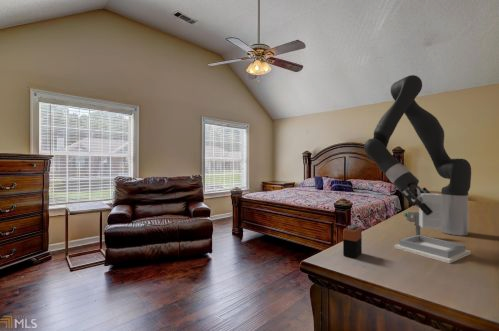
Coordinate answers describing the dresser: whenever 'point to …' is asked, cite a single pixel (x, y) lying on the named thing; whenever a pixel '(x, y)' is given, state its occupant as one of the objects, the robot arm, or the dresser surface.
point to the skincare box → (436, 216)
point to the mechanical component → (413, 220)
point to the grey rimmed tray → (433, 248)
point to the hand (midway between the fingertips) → (435, 212)
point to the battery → (352, 241)
